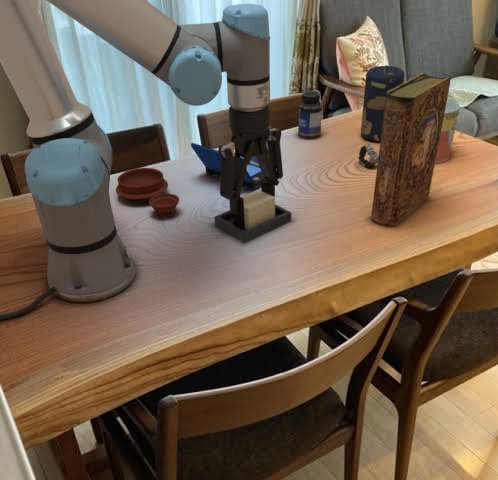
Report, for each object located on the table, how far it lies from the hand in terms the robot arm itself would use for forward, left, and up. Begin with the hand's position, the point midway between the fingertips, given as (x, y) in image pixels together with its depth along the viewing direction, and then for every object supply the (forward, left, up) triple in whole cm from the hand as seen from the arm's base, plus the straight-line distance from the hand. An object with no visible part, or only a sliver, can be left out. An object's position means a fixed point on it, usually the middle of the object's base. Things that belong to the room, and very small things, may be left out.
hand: (253, 219), depth 110 cm
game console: (+11, +19, -1) cm, 22 cm away
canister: (+55, +12, -1) cm, 56 cm away
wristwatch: (+39, +2, -1) cm, 39 cm away
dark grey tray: (0, 0, -1) cm, 1 cm away
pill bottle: (+43, +26, -1) cm, 50 cm away
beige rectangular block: (0, 0, 0) cm, 0 cm away
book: (+26, -17, -1) cm, 31 cm away
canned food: (+54, -4, -1) cm, 54 cm away
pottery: (-10, +23, -1) cm, 25 cm away
